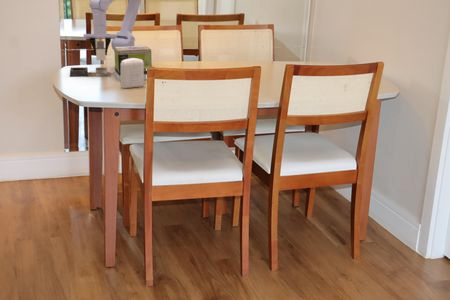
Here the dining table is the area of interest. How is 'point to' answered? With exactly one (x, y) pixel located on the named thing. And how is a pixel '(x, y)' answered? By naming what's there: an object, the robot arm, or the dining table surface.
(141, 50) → the tea box
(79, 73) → the panel
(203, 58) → the dining table surface
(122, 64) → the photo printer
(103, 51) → the plug
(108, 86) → the dining table surface
